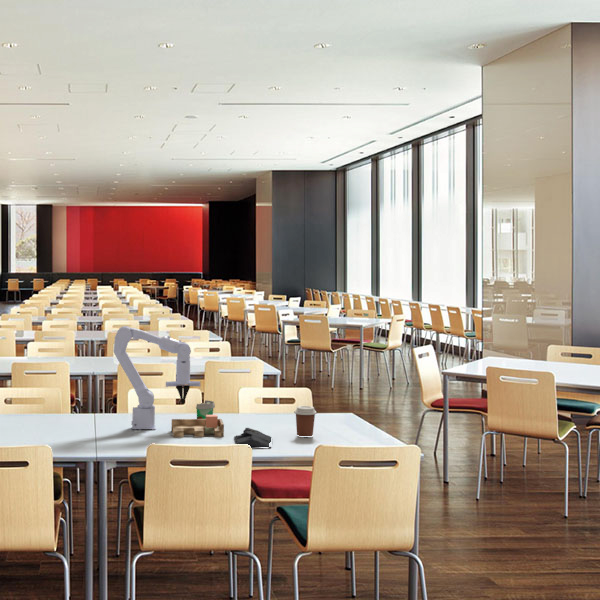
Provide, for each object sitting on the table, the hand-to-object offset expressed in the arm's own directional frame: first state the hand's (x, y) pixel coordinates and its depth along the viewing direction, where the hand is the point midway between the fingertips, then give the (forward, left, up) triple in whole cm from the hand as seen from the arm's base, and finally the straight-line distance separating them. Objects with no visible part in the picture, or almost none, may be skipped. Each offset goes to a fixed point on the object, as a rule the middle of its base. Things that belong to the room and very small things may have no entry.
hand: (182, 403), depth 353 cm
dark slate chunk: (+26, -33, -11) cm, 44 cm away
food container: (+11, +6, -11) cm, 16 cm away
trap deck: (+5, -14, -10) cm, 18 cm away
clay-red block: (+11, -11, -8) cm, 18 cm away
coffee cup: (+49, -21, -11) cm, 54 cm away
